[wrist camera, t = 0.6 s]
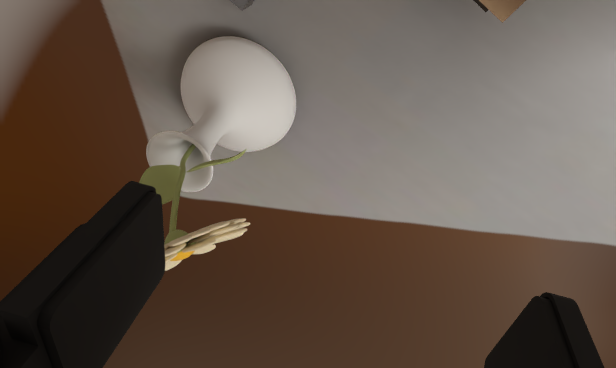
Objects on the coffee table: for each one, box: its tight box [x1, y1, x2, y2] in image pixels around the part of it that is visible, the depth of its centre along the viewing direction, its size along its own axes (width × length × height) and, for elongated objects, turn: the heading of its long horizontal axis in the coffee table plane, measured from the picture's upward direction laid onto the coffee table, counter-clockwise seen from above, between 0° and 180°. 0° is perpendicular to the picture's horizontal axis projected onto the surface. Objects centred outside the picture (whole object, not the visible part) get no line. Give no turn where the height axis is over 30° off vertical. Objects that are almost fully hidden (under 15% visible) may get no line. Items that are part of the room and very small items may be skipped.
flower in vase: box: [139, 36, 296, 271], centre depth 29 cm, size 13×11×25 cm
